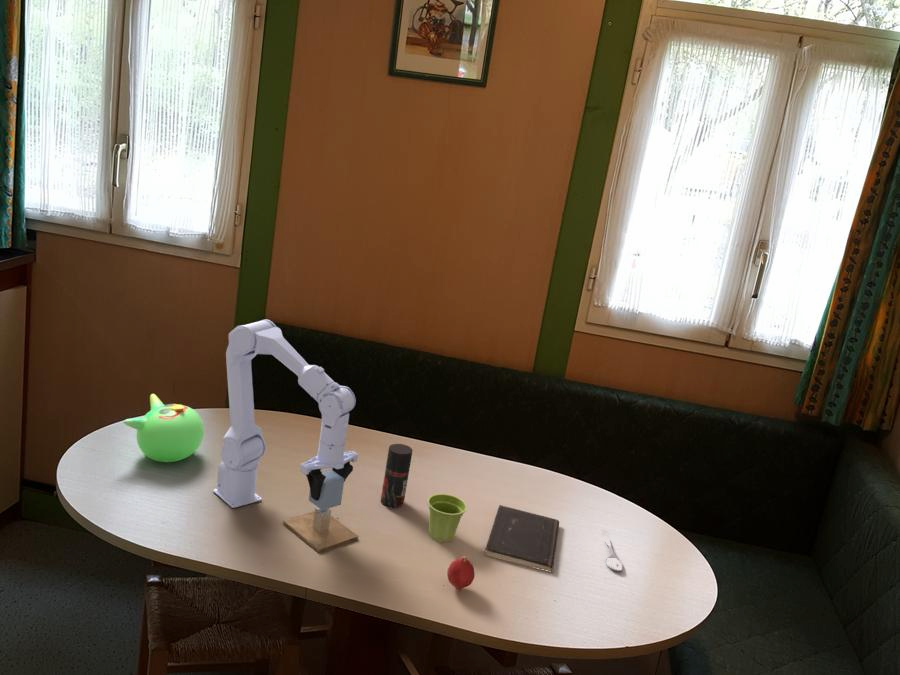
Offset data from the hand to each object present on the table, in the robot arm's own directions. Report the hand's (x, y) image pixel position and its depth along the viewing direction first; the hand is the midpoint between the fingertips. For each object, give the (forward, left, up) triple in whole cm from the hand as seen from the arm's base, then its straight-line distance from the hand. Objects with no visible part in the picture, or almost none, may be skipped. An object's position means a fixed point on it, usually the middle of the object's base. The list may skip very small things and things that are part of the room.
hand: (325, 495), depth 170 cm
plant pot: (+16, +24, -10) cm, 30 cm away
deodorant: (-2, +24, -10) cm, 26 cm away
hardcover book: (+28, +41, -10) cm, 51 cm away
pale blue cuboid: (0, 0, -2) cm, 2 cm away
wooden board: (0, 0, -9) cm, 9 cm away
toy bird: (-49, -13, -10) cm, 52 cm away
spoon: (+43, +57, -10) cm, 72 cm away
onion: (+33, +12, -10) cm, 36 cm away
